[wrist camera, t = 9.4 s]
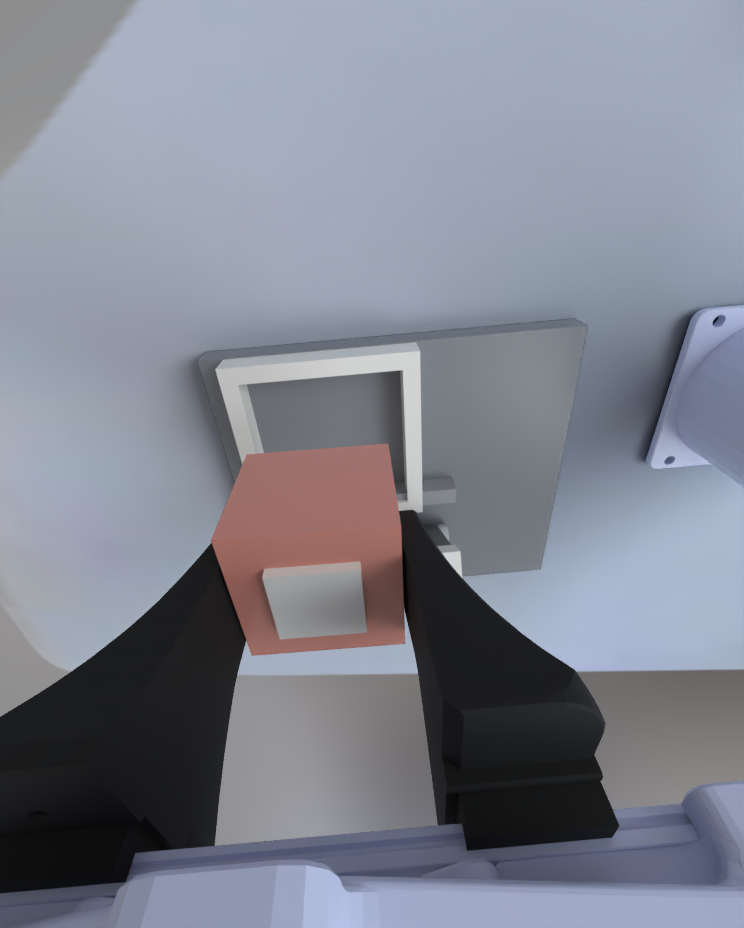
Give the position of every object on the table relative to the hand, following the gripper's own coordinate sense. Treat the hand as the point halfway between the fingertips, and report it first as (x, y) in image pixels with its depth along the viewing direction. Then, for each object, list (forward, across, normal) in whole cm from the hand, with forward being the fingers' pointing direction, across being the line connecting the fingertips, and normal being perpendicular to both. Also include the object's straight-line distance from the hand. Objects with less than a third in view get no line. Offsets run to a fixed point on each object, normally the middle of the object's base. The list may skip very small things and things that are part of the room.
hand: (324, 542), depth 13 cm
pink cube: (+2, 0, 0) cm, 2 cm away
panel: (+8, -3, +3) cm, 9 cm away
